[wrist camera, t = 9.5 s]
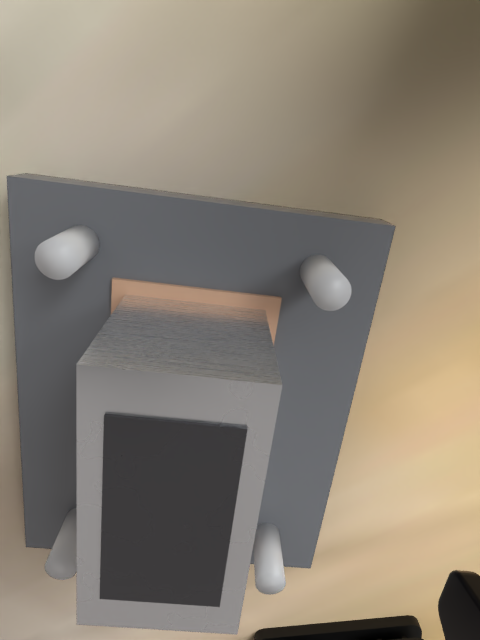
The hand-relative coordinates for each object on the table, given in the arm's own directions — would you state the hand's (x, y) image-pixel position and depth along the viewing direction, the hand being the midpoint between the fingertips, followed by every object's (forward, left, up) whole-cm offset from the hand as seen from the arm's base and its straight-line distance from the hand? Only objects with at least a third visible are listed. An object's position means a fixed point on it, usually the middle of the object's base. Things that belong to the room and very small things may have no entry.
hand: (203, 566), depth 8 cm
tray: (+1, +3, -11) cm, 11 cm away
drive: (+1, +3, -9) cm, 10 cm away
